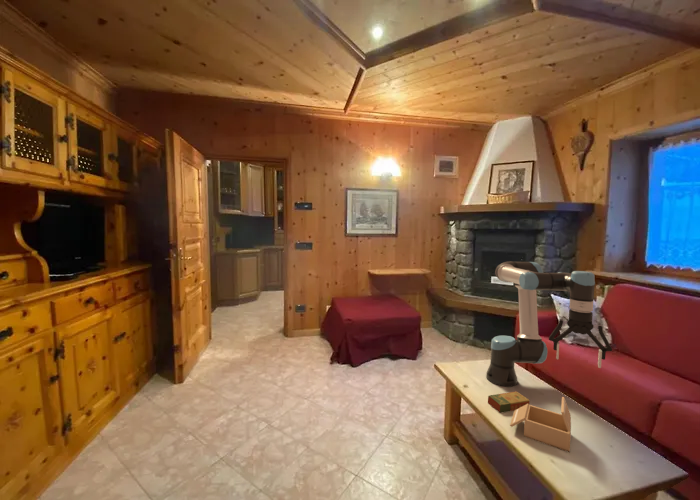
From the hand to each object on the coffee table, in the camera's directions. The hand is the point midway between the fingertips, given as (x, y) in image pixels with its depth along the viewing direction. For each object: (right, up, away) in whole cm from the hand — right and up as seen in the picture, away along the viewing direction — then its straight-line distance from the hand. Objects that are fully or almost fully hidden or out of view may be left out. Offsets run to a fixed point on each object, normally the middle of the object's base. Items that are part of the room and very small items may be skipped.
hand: (577, 362), depth 124 cm
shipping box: (-15, -29, +1) cm, 32 cm away
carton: (-18, -28, +20) cm, 38 cm away
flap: (-7, -22, -6) cm, 23 cm away
